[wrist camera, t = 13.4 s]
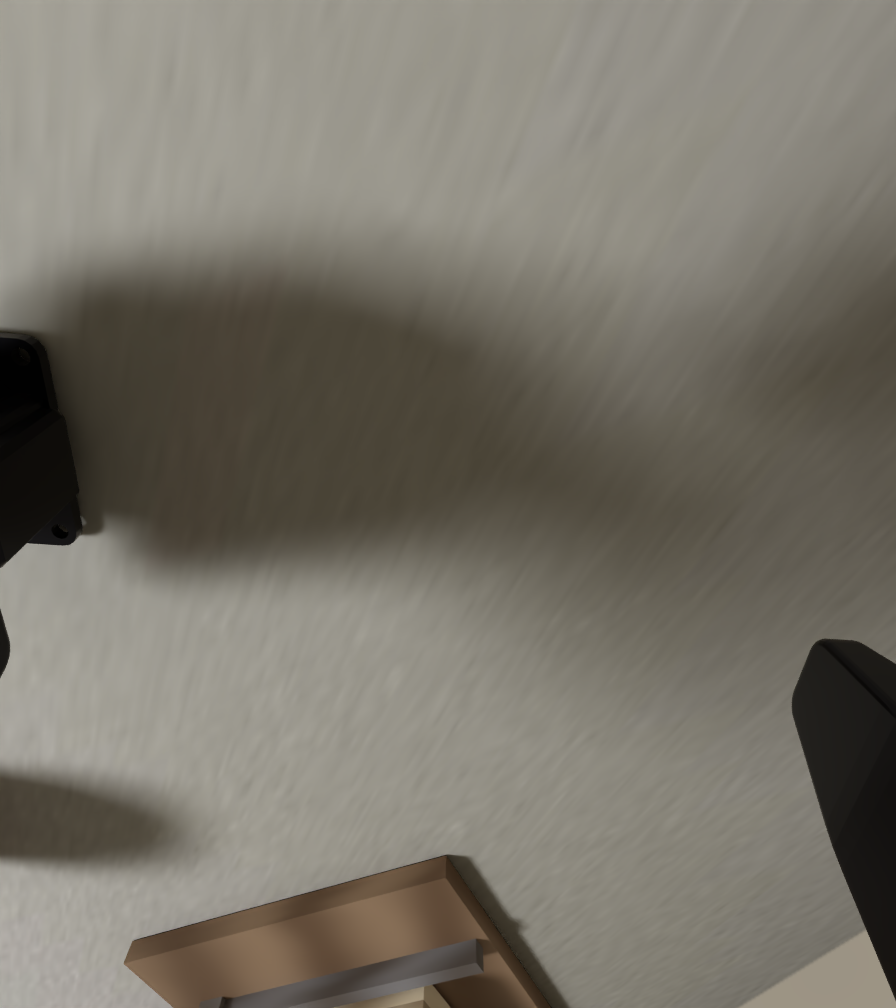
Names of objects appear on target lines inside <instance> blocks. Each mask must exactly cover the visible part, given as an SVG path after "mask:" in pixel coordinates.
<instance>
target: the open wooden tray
mask: <svg viewBox="0 0 896 1008" xmlns="http://www.w3.org/2000/svg"><path fill="white" fill-rule="evenodd" d="M124 965H126V966H127V967H128V968H129V969H130V970H131V971H132V972H134V973H135V974H136V975H137V976H138V977H139V978H140V979H142V980H143V981H144V982H145V983H146V984H147V985H148V986H150V987H151V988H152V989H153V990H154V991H155V992H156V993H157V994H159V995H160V996H161V997H162V998H163V999H164V1000H165V1001H167V1002H168V1003H169V1004H170V1005H171V1006H172V1007H173V1008H334V1007H338V1006H343V1005H347V1004H351V1003H356V1002H360V1001H364V1000H368V999H373V998H377V997H381V996H386V995H390V994H394V993H398V992H403V991H407V990H411V989H416V988H420V987H424V986H429V985H433V986H434V987H435V989H436V990H437V991H438V992H439V994H440V995H441V996H442V997H443V999H444V1000H445V1001H446V1002H447V1004H448V1005H449V1006H450V1007H451V1008H551V1007H550V1005H549V1004H548V1002H547V1001H546V1000H545V998H544V997H543V995H542V994H541V992H540V991H539V989H538V988H537V987H536V985H535V984H534V982H533V981H532V979H531V978H530V976H529V975H528V973H527V972H526V971H525V969H524V968H523V966H522V965H521V963H520V962H519V960H518V959H517V958H516V956H515V955H514V953H513V952H512V950H511V949H510V947H509V946H508V944H507V943H506V942H505V940H504V939H503V937H502V936H501V934H500V933H499V931H498V930H497V929H496V927H495V926H494V924H493V923H492V921H491V920H490V918H489V917H488V915H487V914H486V913H485V911H484V910H483V908H482V907H481V905H480V904H479V902H478V901H477V899H476V898H475V897H474V895H473V894H472V892H471V891H470V889H469V888H468V886H467V885H466V884H465V882H464V881H463V879H462V878H461V876H460V875H459V873H458V872H457V870H456V869H455V868H454V866H453V865H452V863H451V862H450V860H449V859H448V857H447V856H442V857H438V858H435V859H431V860H428V861H424V862H420V863H417V864H413V865H409V866H406V867H402V868H398V869H395V870H391V871H387V872H384V873H380V874H376V875H373V876H369V877H365V878H362V879H358V880H354V881H351V882H347V883H343V884H340V885H336V886H333V887H329V888H325V889H322V890H318V891H314V892H311V893H307V894H303V895H300V896H296V897H292V898H289V899H285V900H281V901H278V902H274V903H270V904H267V905H263V906H259V907H256V908H252V909H248V910H245V911H241V912H238V913H234V914H230V915H227V916H223V917H219V918H216V919H212V920H208V921H205V922H201V923H197V924H194V925H190V926H186V927H183V928H179V929H175V930H172V931H168V932H164V933H161V934H157V935H153V936H150V937H146V938H142V939H139V940H135V941H132V944H131V946H130V949H129V951H128V954H127V956H126V959H125V961H124Z"/></svg>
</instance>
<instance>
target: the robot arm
mask: <svg viewBox="0 0 896 1008" xmlns="http://www.w3.org/2000/svg"><path fill="white" fill-rule="evenodd" d="M19 348H22V349H24V350H26V351H27V352H28V354H29V356H30V361H27V360H25V359H24V358H23V357H21V355H20V353H19ZM78 493H79V487H78V482H77V477H76V472H75V467H74V462H73V457H72V452H71V447H70V442H69V437H68V432H67V428H66V423H65V418H64V417H63V415H62V414H61V413H60V412H59V410H58V405H57V400H56V395H55V391H54V386H53V381H52V376H51V371H50V366H49V361H48V357H47V353H46V350H45V348H44V346H43V345H42V344H41V343H40V341H39V340H37V339H35V338H34V337H32V336H29V335H25V334H10V333H0V568H1V567H3V566H4V565H5V564H6V563H7V562H8V561H9V560H10V559H11V558H12V557H13V556H14V555H15V554H16V553H17V552H18V551H19V550H20V549H21V548H22V547H23V546H24V545H25V544H26V543H33V544H48V545H70V544H71V543H73V542H74V541H75V540H76V539H77V538H78V537H79V536H80V534H81V533H82V522H81V517H80V512H79V507H78V502H77V497H76V495H77V494H78ZM58 524H59V525H63V526H64V527H65V528H67V530H68V532H65V531H63V530H62V529H60V528H59V526H58ZM9 655H10V641H9V637H8V634H7V630H6V627H5V623H4V620H3V616H2V613H1V610H0V678H1V676H2V674H3V672H4V670H5V668H6V665H7V663H8V659H9ZM792 713H793V718H794V721H795V725H796V728H797V731H798V735H799V738H800V741H801V745H802V748H803V752H804V755H805V758H806V762H807V765H808V768H809V772H810V775H811V778H812V782H813V785H814V788H815V792H816V795H817V799H818V802H819V805H820V809H821V812H822V815H823V819H824V822H825V825H826V828H827V831H828V834H829V837H830V840H831V843H832V846H833V849H834V851H835V854H836V857H837V859H838V862H839V864H840V867H841V869H842V872H843V874H844V877H845V879H846V882H847V884H848V886H849V889H850V891H851V894H852V896H853V898H854V901H855V903H856V906H857V908H858V911H859V913H860V915H861V918H862V920H863V923H864V925H865V927H866V930H867V932H868V935H869V937H870V940H871V942H872V944H873V947H874V949H875V951H876V954H877V956H878V959H879V961H880V964H881V966H882V969H883V971H884V973H885V976H886V978H887V981H888V983H889V985H890V988H891V990H892V992H893V995H894V997H895V1000H896V664H895V663H893V662H892V661H890V660H888V659H887V658H885V657H883V656H882V655H880V654H878V653H877V652H875V651H874V650H872V649H870V648H869V647H867V646H865V645H864V644H862V643H860V642H857V641H853V640H838V639H821V640H818V641H817V642H816V643H815V644H814V645H813V646H812V648H811V650H810V652H809V655H808V657H807V660H806V662H805V665H804V667H803V670H802V672H801V675H800V677H799V680H798V682H797V685H796V687H795V690H794V693H793V697H792Z"/></svg>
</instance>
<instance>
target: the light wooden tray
mask: <svg viewBox="0 0 896 1008" xmlns="http://www.w3.org/2000/svg"><path fill="white" fill-rule="evenodd" d="M334 1008H451V1007H450V1006H449V1005H448V1004H447V1002H446V1001H445V1000H444V999H443V997H442V996H441V995H440V994H439V992H438V991H437V990H436V989H435V987H434V986H433V985H429V986H424V987H420V988H416V989H411V990H407V991H403V992H398V993H394V994H390V995H386V996H381V997H377V998H373V999H368V1000H364V1001H360V1002H356V1003H351V1004H347V1005H343V1006H338V1007H334Z"/></svg>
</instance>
